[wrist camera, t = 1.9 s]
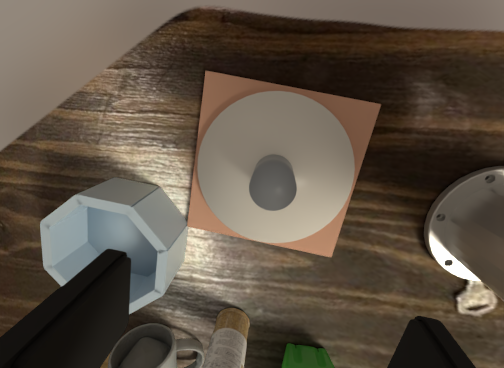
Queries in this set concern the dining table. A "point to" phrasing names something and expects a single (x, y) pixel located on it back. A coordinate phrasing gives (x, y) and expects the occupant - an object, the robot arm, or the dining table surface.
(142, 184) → the bowl
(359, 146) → the mat
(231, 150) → the lid
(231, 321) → the spice bottle
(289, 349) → the fruit basket
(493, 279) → the robot arm
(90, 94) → the dining table surface
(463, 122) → the dining table surface
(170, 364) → the ceramic mug
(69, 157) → the dining table surface
